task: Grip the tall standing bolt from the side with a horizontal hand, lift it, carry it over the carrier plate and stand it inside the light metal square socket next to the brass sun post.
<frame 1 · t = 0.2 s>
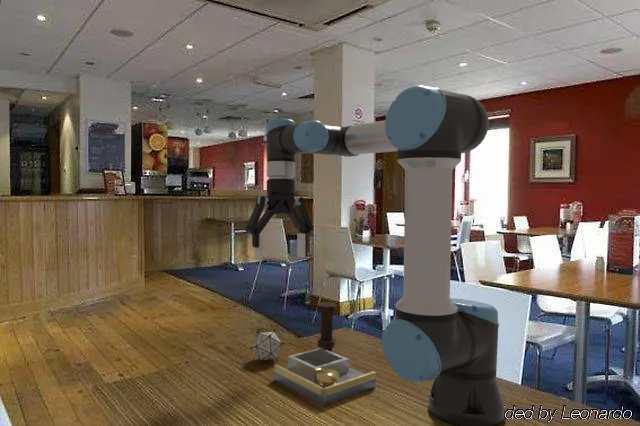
hand: (280, 258, 128), 27 cm above the table, tool pointing down, fingers open, 13 cm apart
game die: (267, 361, 129), on the table
bolt: (326, 359, 130), on the table
carrier: (324, 383, 114), on the table
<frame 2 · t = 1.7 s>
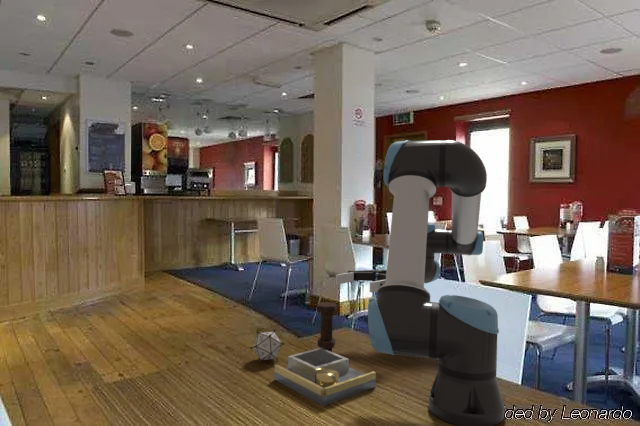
hand: (352, 283, 136), 20 cm above the table, tool horizontal, fingers open, 13 cm apart
nothing on the table moved.
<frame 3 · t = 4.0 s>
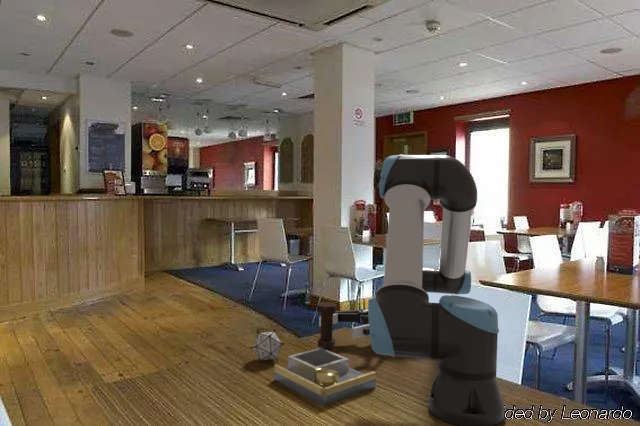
hand: (335, 327, 133), 8 cm above the table, tool horizontal, fingers open, 13 cm apart
nothing on the table moved.
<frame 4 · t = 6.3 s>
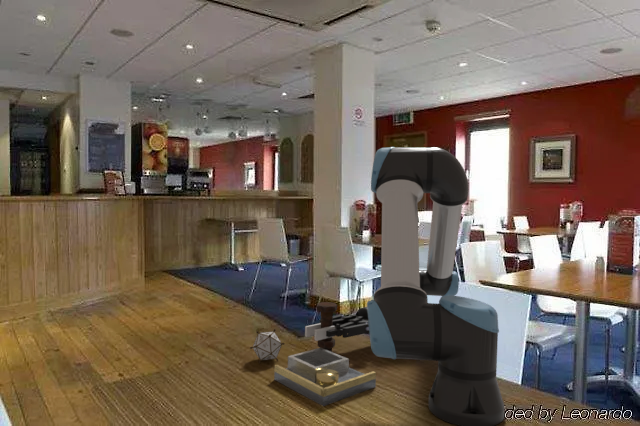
hand: (310, 333, 127), 8 cm above the table, tool horizontal, fingers closed on bolt, 3 cm apart
bolt: (326, 359, 130), on the table, touching gripper
everything else where it was.
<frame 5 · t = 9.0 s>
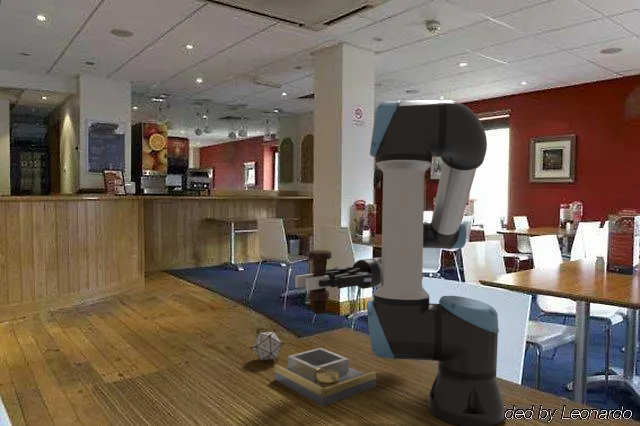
hand: (301, 283, 113), 24 cm above the table, tool horizontal, fingers closed on bolt, 3 cm apart
bolt: (318, 314, 117), point 16 cm above the table, touching gripper
everything else where it was.
when the fingers open (11 cm above the table, at t = 12.0 s): bolt drops 1 cm, resting on carrier.
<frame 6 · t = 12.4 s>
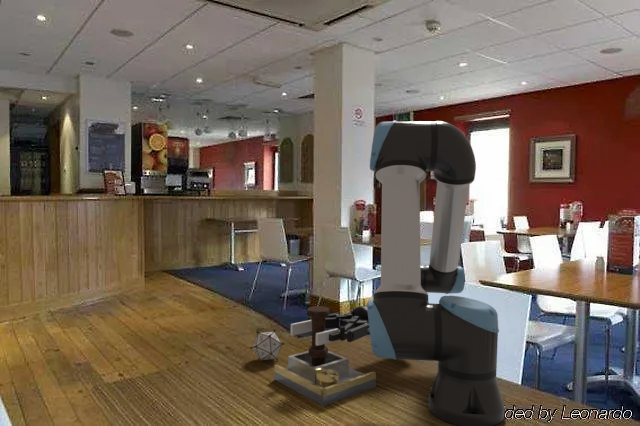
hand: (303, 334, 114), 12 cm above the table, tool horizontal, fingers open, 9 cm apart
bolt: (318, 370, 118), point 2 cm above the table, touching carrier
everything else where it was.
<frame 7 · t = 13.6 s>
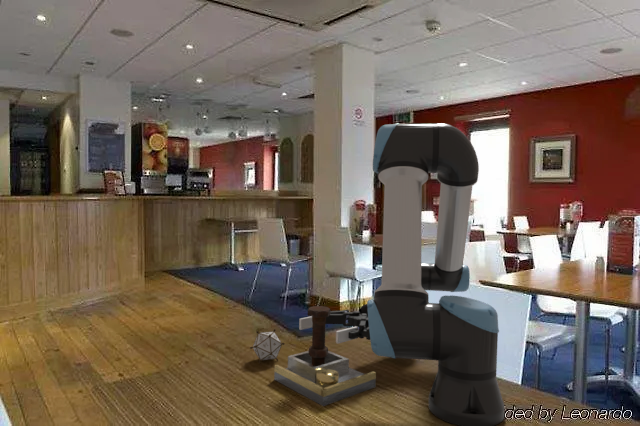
hand: (317, 330, 117), 12 cm above the table, tool horizontal, fingers open, 13 cm apart
nothing on the table moved.
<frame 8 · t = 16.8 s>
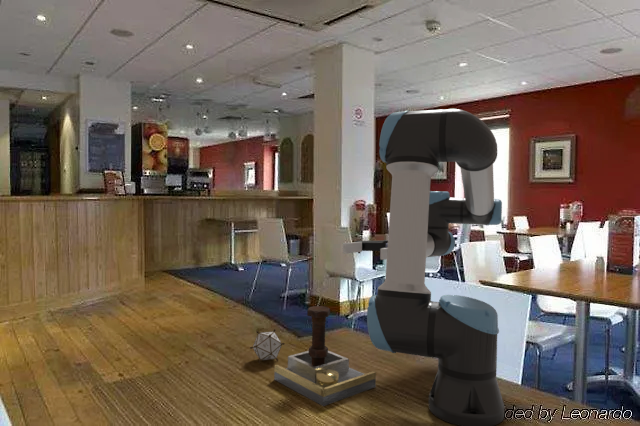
hand: (361, 251, 124), 30 cm above the table, tool horizontal, fingers open, 13 cm apart
nothing on the table moved.
at the end: bolt 0.1 cm from the target spot on the carrier, point 1.8 cm above the carrier's base; bolt tilted 0°; the gripper is holding nothing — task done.
